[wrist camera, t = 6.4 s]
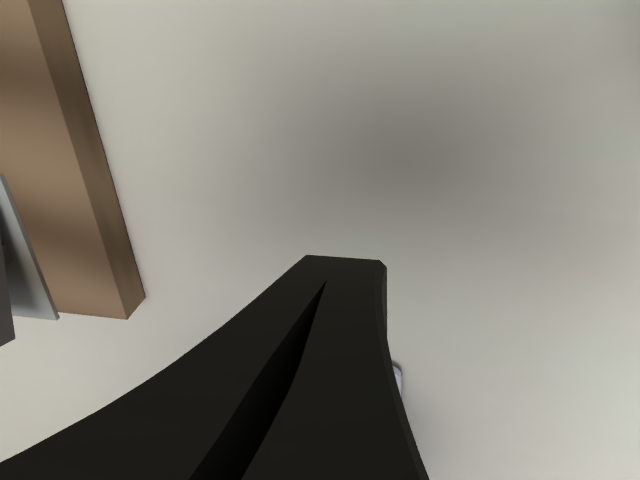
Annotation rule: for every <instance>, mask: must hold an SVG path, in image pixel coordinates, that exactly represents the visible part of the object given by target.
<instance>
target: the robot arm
mask: <svg viewBox="0 0 640 480" xmlns="http://www.w3.org/2000/svg"><path fill="white" fill-rule="evenodd" d="M401 390H402V375H401V372H400V371H399V369H398V368H396V367H394V366H393V365H392V361H391V356H390V352H389V346H388V341H387V267H386V266H385V265H384V264H383V263H382V262H381V261H380V260H370V259H356V258H343V257H329V256H315V255H306V256H304V257H303V258H302V259H301V260H300V261H298V262H297V263H296V264H295V265H294V266H293V267H291V268H290V269H289V270H288V271H287V272H286V273H284V274H283V275H282V276H281V277H280V278H279V279H277V280H276V281H275V282H274V283H273V284H272V285H271V286H269V287H268V288H267V289H266V290H265V291H264V292H262V293H261V294H260V295H259V296H258V297H257V298H256V299H254V300H253V301H252V302H251V303H250V304H248V305H247V306H246V307H245V308H244V309H242V310H241V311H240V312H239V313H238V314H236V315H235V316H234V317H233V318H231V319H230V320H229V321H228V322H227V323H225V324H224V325H223V326H222V327H220V328H219V329H218V330H216V331H215V332H214V333H212V334H211V335H210V336H208V337H207V338H206V339H204V340H203V341H202V342H200V343H199V344H198V345H196V346H195V347H194V348H192V349H191V350H190V351H188V352H187V353H186V354H184V355H183V356H182V357H180V358H179V359H178V360H176V361H175V362H173V363H172V364H171V365H169V366H168V367H166V368H165V369H163V370H162V371H160V372H159V373H157V374H156V375H154V376H153V377H151V378H150V379H148V380H147V381H145V382H144V383H142V384H141V385H139V386H137V387H136V388H134V389H133V390H131V391H129V392H128V393H126V394H125V395H123V396H121V397H120V398H118V399H117V400H115V401H113V402H112V403H110V404H108V405H107V406H105V407H103V408H102V409H100V410H98V411H97V412H95V413H93V414H91V415H89V416H87V417H86V418H84V419H82V420H80V421H78V422H76V423H74V424H73V425H71V426H69V427H67V428H65V429H63V430H62V431H60V432H58V433H56V434H54V435H52V436H50V437H49V438H47V439H45V440H43V441H41V442H39V443H38V444H36V445H34V446H32V447H30V448H28V449H26V450H25V451H23V452H21V453H19V454H17V455H15V456H13V457H11V458H9V459H7V460H4V461H2V462H0V480H429V477H428V475H427V472H426V470H425V467H424V464H423V462H422V459H421V457H420V454H419V451H418V448H417V445H416V442H415V440H414V437H413V434H412V431H411V428H410V425H409V422H408V419H407V416H406V413H405V409H404V406H403V403H402V399H401Z"/></svg>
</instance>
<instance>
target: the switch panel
mask: <svg viewBox="0 0 640 480" xmlns="http://www.w3.org/2000/svg"><path fill="white" fill-rule="evenodd" d="M0 234H1V241H2V248H3V255H4V262H5V269H6V276H7V283H8V291H9V298H10V305H11V312H12V315H13V316H22V317H30V318H39V319H48V320H58V319H59V318H60V317H59V315H58V312H63V313H72V314H81V315H90V316H99V317H108V318H117V319H126V320H127V319H128V318H129V317H130V316H131V314H132V313H133V312H134V311H135V310H136V308H137V307H138V306H139V305H140V303H141V302H142V301H143V300H144V299H145V295H144V291H143V288H142V284H141V280H140V277H139V273H138V270H137V266H136V263H135V259H134V256H133V252H132V249H131V245H130V242H129V238H128V235H127V231H126V228H125V224H124V221H123V217H122V214H121V210H120V206H119V203H118V199H117V196H116V192H115V189H114V185H113V182H112V178H111V175H110V171H109V168H108V164H107V161H106V157H105V154H104V150H103V147H102V143H101V140H100V136H99V133H98V129H97V125H96V122H95V118H94V115H93V111H92V108H91V104H90V101H89V97H88V94H87V90H86V87H85V83H84V80H83V76H82V73H81V69H80V66H79V62H78V59H77V55H76V52H75V48H74V44H73V41H72V37H71V34H70V30H69V27H68V23H67V20H66V16H65V13H64V9H63V6H62V2H61V0H0Z"/></svg>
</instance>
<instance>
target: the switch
mask: <svg viewBox="0 0 640 480" xmlns="http://www.w3.org/2000/svg"><path fill="white" fill-rule="evenodd" d="M14 339H15V333H14V326H13V319H12V312H11V305H10V298H9V291H8V283H7V276H6V269H5V262H4V255H3V248H2V241H1V234H0V346H2V345H4V344H6V343H8V342H10V341H12V340H14Z"/></svg>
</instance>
